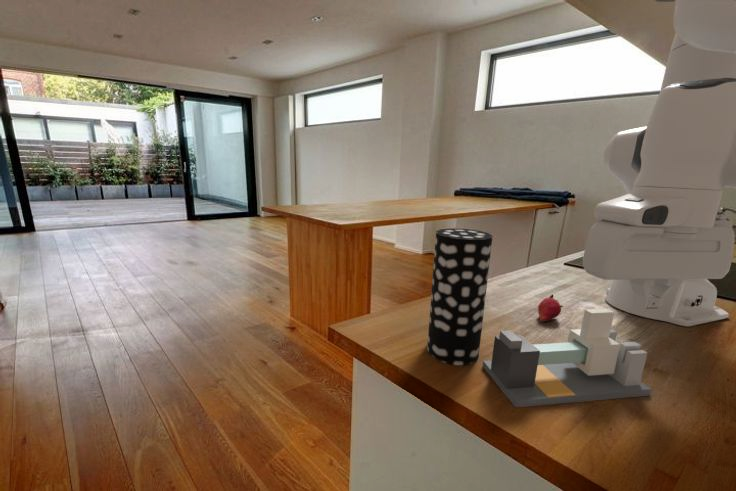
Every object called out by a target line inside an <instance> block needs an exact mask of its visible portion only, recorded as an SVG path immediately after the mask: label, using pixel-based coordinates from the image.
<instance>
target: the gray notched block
mask: <svg viewBox="0 0 736 491" xmlns="http://www.w3.org/2000/svg"><path fill="white" fill-rule="evenodd" d="M617 336H618V331H617V330H615V329H613V328H611V331H610V335H609V338H611V339H613V340H614V341H616V340H617ZM616 342H617V341H616ZM618 343H619V344H620V349H619V353H618V357H617V362H616V366H615V371H614V374H608V375H610V376H611V377H613V378H614V379H615V380H617V381H618V382H619V383H621V384H622V385H624V386H633V385H640V382H642V381H641V380H642V377H643V373H644V369H645V366H646V365H645V364H646V361H647V357H648V352H647V351H646V350H643V349H641V346H642V345H641V344H639V342H638V343H637V342H636V341H624V342H618Z"/></svg>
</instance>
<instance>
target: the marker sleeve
mask: <svg viewBox="0 0 736 491" xmlns="http://www.w3.org/2000/svg"><path fill="white" fill-rule="evenodd" d="M614 315H615V311H614V310H611V309H609V308H589V309H588V308H587V309H584V312H583V318H582V322H581V328H576V329H574V328H573V329H569V332H568V334H569V335H568V340H567V342H580V343H581V344H583V345H584V346H586V347H587V348H588V352H587V357H586V362H576V363H573V364H574V365H576V366H577V367H578V368H579V369H581V370H582V371H583V372H584V373H586V374H587V375H588V376H591V375H604V374H614V371H615V366H616V362H617V357H618V353H619V349H620V344H619V343H620V342H617V341H614V340H613V339H611V338H609V335H610V331H611V329H612V325H613V320H614V318H615V317H614Z"/></svg>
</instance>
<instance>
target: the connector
mask: <svg viewBox="0 0 736 491" xmlns="http://www.w3.org/2000/svg"><path fill="white" fill-rule="evenodd" d="M539 354H540V350H538V349H537V348H536V347H535V346H534V344H533V343H531V342H530V341H529V340H528V339H527V338H525V337H524V336H523V335H522V334H516V333H515V332H513V330H509V329H508V330H500V331H499V335H495V336H494V340H493V349H492V355H491V360H492V363H491V371H492V372H493V373H494V374H495V376H496V377H497V378H498V379H499V380H500V382H501V383H502V384H503V385H504V386H505V388H506V389H515V388H528V387H534V384H535V378H536V372H537V366H538V360H539Z"/></svg>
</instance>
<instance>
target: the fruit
mask: <svg viewBox="0 0 736 491" xmlns="http://www.w3.org/2000/svg"><path fill="white" fill-rule="evenodd" d="M562 308H564V306H563V305H562V304H560V302H559V299H556V298H554V294H551V295H550V296H548V297H545V298H544V299H542V300H541V301H540V303H539V304H538V308H537V312H538V316H539V320H540V322H543V323H544V322H549V321H551V320H553V319H556V318H557V317H558V316H559V315H560V314H561V312H562Z"/></svg>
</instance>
